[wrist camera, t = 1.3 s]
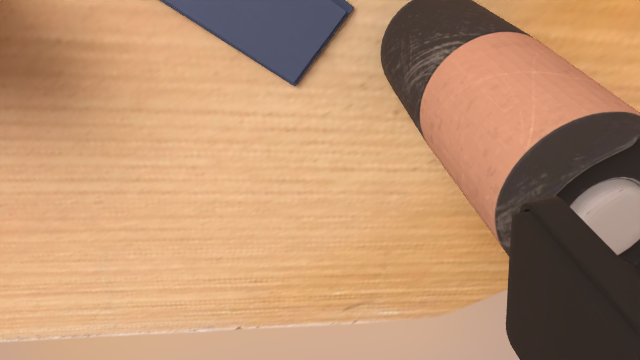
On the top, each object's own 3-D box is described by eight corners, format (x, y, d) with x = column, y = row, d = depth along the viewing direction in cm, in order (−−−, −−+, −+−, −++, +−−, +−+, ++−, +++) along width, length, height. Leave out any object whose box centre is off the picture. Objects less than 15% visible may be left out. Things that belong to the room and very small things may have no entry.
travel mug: (409, 122, 42) (560, 340, 25) (353, 34, 37) (488, 222, 21) (508, 59, 40) (735, 242, 24) (461, -40, 36) (695, 97, 20)
